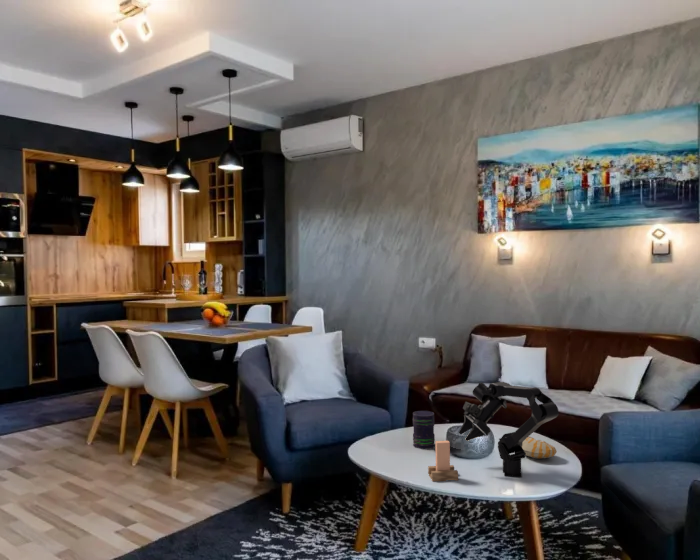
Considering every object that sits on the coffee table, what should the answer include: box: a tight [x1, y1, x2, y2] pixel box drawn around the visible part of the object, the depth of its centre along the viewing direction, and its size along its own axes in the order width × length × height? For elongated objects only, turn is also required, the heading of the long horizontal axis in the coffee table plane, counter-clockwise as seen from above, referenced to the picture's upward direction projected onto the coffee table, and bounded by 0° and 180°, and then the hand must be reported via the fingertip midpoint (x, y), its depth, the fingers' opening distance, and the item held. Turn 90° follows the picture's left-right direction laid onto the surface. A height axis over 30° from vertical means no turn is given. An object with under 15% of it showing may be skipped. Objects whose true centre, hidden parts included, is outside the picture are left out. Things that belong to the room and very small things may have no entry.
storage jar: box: [412, 410, 436, 450], centre depth 260 cm, size 10×10×15 cm
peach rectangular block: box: [434, 440, 451, 471], centre depth 221 cm, size 5×2×13 cm, turn 95°
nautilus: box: [522, 436, 557, 460], centre depth 245 cm, size 8×22×15 cm
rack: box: [427, 464, 459, 482], centre depth 221 cm, size 10×8×3 cm
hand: (462, 436), depth 231 cm, fingers open, 9 cm apart
